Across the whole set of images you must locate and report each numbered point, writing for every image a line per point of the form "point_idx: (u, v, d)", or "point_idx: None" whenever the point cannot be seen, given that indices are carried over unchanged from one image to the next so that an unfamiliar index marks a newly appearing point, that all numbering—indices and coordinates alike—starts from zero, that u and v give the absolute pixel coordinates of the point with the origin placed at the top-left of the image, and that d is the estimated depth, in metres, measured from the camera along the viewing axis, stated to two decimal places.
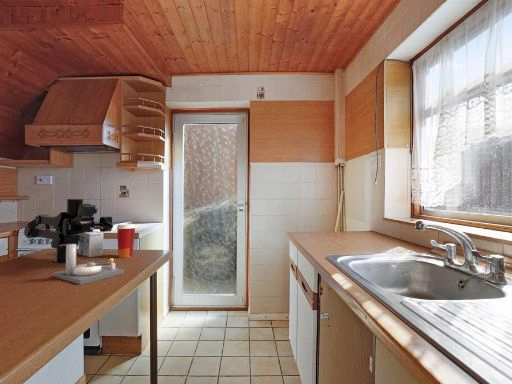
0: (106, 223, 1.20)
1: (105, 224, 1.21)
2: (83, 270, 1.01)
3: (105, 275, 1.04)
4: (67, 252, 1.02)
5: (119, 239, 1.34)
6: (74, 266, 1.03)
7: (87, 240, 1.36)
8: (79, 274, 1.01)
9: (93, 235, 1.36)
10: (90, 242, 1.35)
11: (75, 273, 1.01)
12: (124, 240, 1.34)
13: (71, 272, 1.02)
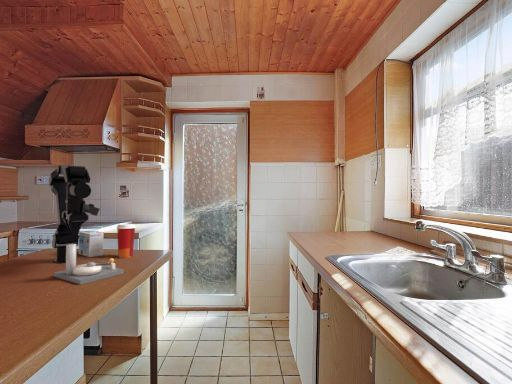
0: None
1: None
2: (83, 270, 1.01)
3: (105, 275, 1.04)
4: (67, 252, 1.02)
5: (119, 239, 1.34)
6: (74, 266, 1.03)
7: (87, 240, 1.36)
8: (79, 274, 1.01)
9: (93, 235, 1.36)
10: (90, 242, 1.35)
11: (75, 273, 1.01)
12: (124, 240, 1.34)
13: (71, 272, 1.02)
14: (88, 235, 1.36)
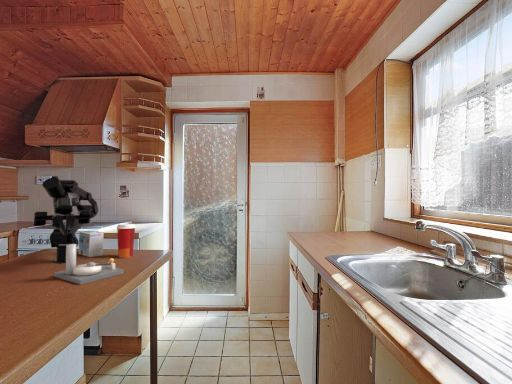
0: (65, 224, 1.15)
1: (65, 224, 1.15)
2: (83, 270, 1.01)
3: (105, 275, 1.04)
4: (67, 252, 1.02)
5: (119, 239, 1.34)
6: (74, 266, 1.03)
7: (87, 240, 1.36)
8: (79, 274, 1.01)
9: (93, 235, 1.36)
10: (90, 242, 1.35)
11: (75, 273, 1.01)
12: (124, 240, 1.34)
13: (71, 272, 1.02)
14: (88, 235, 1.36)
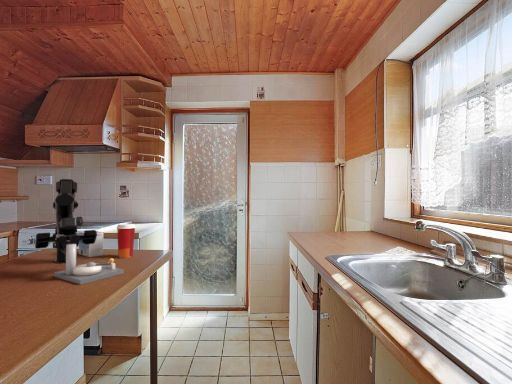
0: None
1: None
2: (83, 270, 1.01)
3: (105, 275, 1.04)
4: (67, 253, 1.02)
5: (119, 239, 1.34)
6: (74, 266, 1.03)
7: None
8: (79, 274, 1.01)
9: None
10: None
11: (75, 273, 1.01)
12: (124, 240, 1.34)
13: (71, 272, 1.02)
14: None
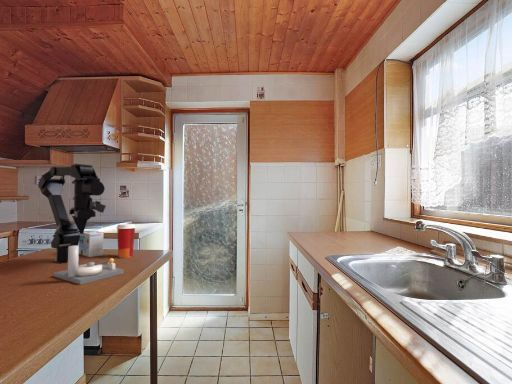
0: None
1: None
2: (92, 269, 1.02)
3: (105, 275, 1.04)
4: (71, 254, 0.99)
5: (119, 239, 1.34)
6: (78, 267, 1.01)
7: (87, 240, 1.36)
8: (88, 274, 1.01)
9: (93, 235, 1.36)
10: (90, 242, 1.35)
11: (83, 274, 1.00)
12: (124, 240, 1.34)
13: (76, 274, 1.00)
14: (88, 235, 1.36)
